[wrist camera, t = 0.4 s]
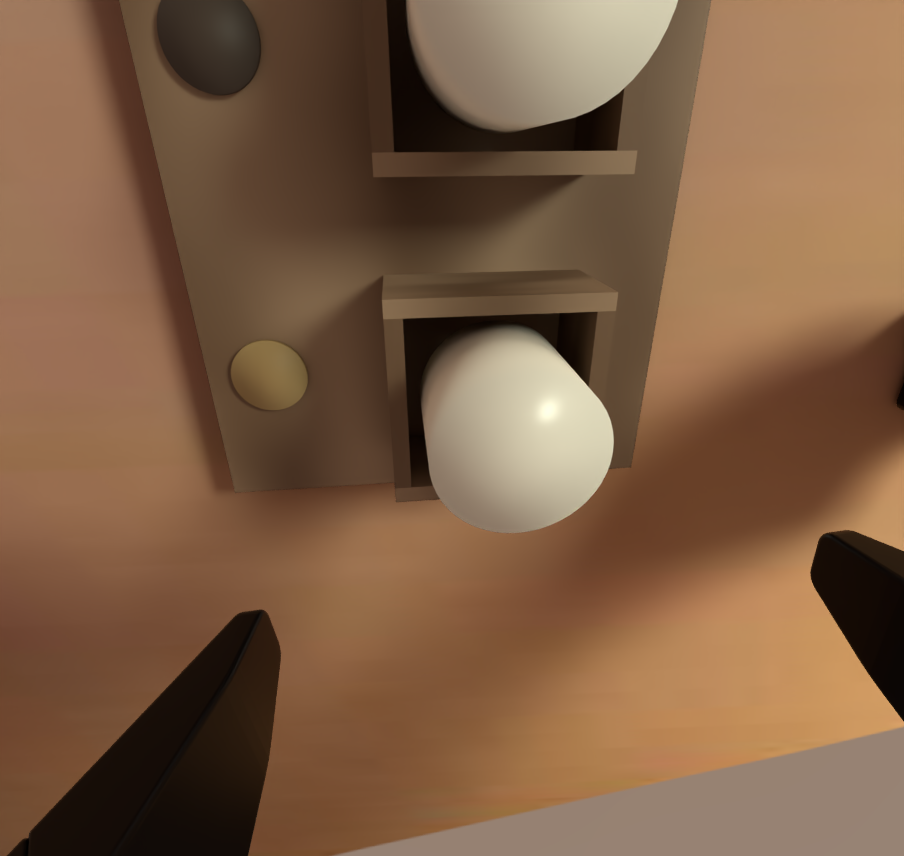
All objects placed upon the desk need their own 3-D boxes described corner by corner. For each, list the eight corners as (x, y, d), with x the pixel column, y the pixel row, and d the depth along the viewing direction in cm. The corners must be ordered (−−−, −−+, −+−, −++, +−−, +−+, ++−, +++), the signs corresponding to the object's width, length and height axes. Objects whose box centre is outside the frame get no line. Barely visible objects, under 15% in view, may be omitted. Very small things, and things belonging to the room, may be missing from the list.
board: (828, -879, 9) (1162, -1672, 5) (619, 452, 21) (671, 518, 17) (-97, -1046, 8) (-595, -2285, 4) (243, 475, 20) (206, 552, 16)
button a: (570, 317, 15) (625, 365, 11) (557, 450, 17) (601, 526, 13) (417, 322, 15) (425, 374, 11) (422, 458, 17) (431, 539, 13)
